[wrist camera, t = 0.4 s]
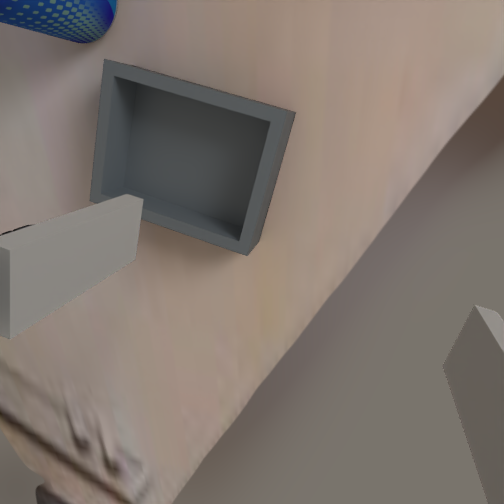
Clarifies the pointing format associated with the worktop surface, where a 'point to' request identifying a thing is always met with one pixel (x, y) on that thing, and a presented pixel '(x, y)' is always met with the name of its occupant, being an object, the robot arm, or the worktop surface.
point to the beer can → (61, 17)
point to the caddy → (188, 154)
